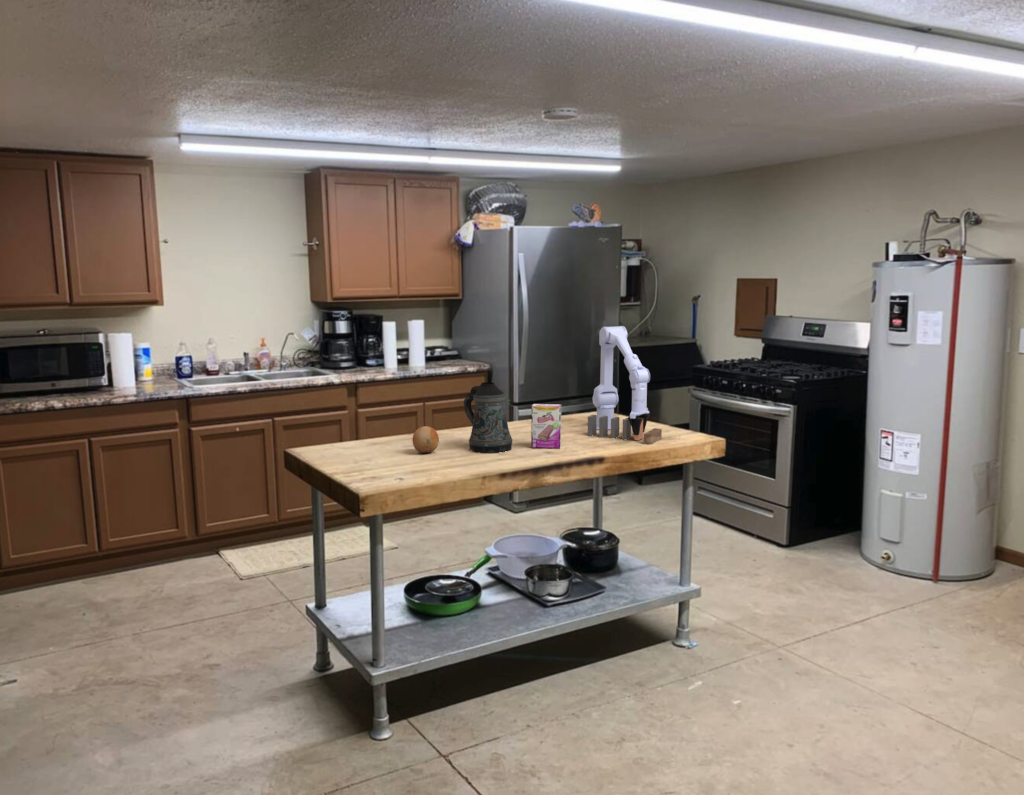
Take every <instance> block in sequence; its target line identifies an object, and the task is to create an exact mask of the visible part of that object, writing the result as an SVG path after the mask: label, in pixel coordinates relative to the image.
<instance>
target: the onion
mask: <svg viewBox="0 0 1024 795" xmlns="http://www.w3.org/2000/svg"><path fill="white" fill-rule="evenodd" d="M412 435H413V436H412V444H413V448H414V449H415V450H416V451H417V452H418V453H421V454H428V453H432V452H434V451H435V450H436V449H437V448H438V447H439V443H440V438H439V434H438V432H437V431H436V429H435V428H433V427H432V426H429V425H428V426H427V425H426V426H425V425H424V426H419V427H418V428H417V429H416V430H415V431H414V433H412Z"/></svg>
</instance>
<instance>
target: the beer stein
mask: <svg viewBox="0 0 1024 795" xmlns="http://www.w3.org/2000/svg"><path fill="white" fill-rule="evenodd" d="M506 396H507V395H506V393H505V392H504V391H503V390H502V389H500V388H498V386H497V385H496V384H495V382H493V381H492V382H491V381H489V382H487V381H485V382H481V384H480V385H474V386H472V388H471V389H470V392H469V393H467V394H466V395H465V398H464V399H463V400H464V401H463V410H464V412H465V415H466V418H467V419H468V420H469V422H470V423H471V424H472V425H471V426H472V427H471V432H470V436H469V438H468V444H469V450H470V451H471V450H472V451H471V452H473V451H474V453H477V452H480V454H500V453H499V452H502V453H506V452H505V451H507V452H509V451H511V450H512V446H513V438H512V435H511V433H510V432H511V431H510V429H509V424H508V420H507V412H506V407H505V401H506V399H507V397H506ZM473 401H474V411H473V408H472V402H473Z"/></svg>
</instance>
